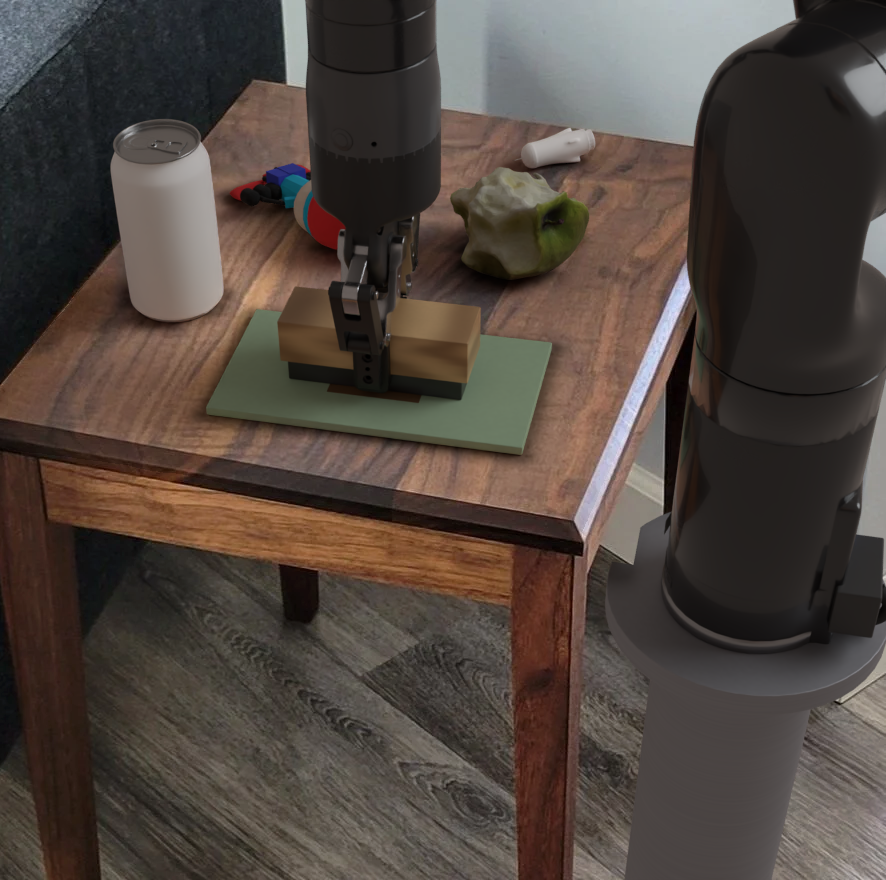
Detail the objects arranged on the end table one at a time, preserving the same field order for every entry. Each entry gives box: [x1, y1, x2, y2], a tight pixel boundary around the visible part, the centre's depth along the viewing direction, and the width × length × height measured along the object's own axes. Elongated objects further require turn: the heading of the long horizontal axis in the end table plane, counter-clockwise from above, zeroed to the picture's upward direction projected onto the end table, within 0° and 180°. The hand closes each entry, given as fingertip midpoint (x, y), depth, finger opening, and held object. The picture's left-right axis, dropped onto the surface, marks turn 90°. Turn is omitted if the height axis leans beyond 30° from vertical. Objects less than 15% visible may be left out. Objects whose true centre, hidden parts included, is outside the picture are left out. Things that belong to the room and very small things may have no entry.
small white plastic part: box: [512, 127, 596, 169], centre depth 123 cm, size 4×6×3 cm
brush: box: [277, 285, 482, 400], centre depth 102 cm, size 12×4×4 cm, turn 75°
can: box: [110, 118, 225, 323], centre depth 108 cm, size 6×6×12 cm
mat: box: [205, 308, 553, 456], centre depth 104 cm, size 20×11×1 cm, turn 75°
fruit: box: [449, 166, 590, 281], centre depth 112 cm, size 9×9×8 cm
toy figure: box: [228, 162, 346, 251], centre depth 117 cm, size 8×5×15 cm
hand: (381, 365), depth 104 cm, fingers closed on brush, 4 cm apart
